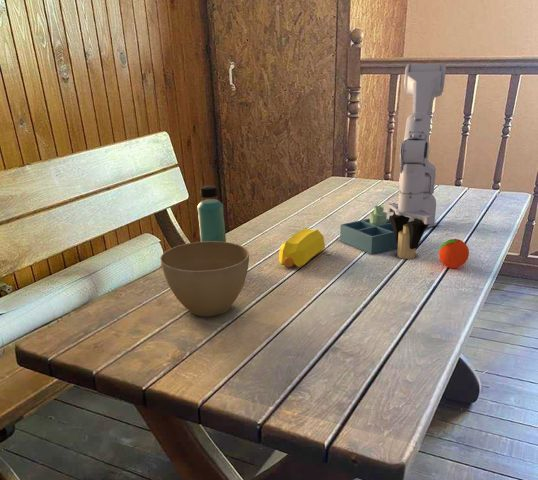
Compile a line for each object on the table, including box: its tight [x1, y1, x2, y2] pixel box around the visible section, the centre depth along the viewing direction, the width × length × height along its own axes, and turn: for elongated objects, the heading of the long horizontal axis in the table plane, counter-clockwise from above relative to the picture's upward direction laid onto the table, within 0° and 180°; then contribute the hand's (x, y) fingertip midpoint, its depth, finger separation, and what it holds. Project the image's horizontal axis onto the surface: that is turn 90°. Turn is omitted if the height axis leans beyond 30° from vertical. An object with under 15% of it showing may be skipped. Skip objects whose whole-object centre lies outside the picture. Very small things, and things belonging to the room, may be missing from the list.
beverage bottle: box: [196, 185, 227, 242], centre depth 142 cm, size 6×7×20 cm
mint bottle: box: [369, 205, 388, 226], centre depth 161 cm, size 4×5×8 cm
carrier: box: [339, 217, 398, 255], centre depth 158 cm, size 14×14×5 cm
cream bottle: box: [396, 224, 417, 260], centre depth 147 cm, size 4×5×8 cm
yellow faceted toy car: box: [278, 227, 326, 268], centre depth 148 cm, size 18×7×8 cm
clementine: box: [438, 238, 470, 269], centre depth 139 cm, size 8×7×7 cm
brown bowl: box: [160, 241, 250, 317], centre depth 122 cm, size 18×18×12 cm
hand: (406, 245), depth 148 cm, fingers closed on cream bottle, 4 cm apart
